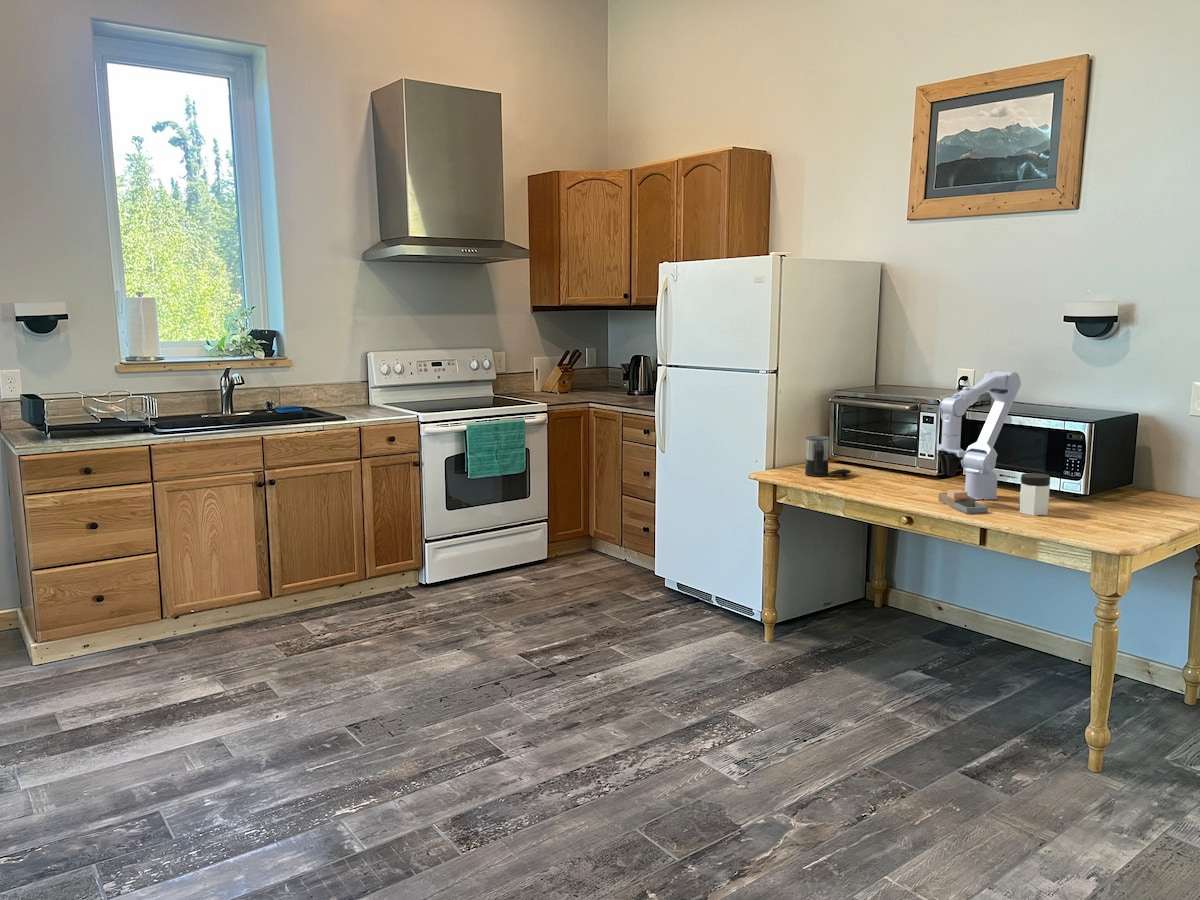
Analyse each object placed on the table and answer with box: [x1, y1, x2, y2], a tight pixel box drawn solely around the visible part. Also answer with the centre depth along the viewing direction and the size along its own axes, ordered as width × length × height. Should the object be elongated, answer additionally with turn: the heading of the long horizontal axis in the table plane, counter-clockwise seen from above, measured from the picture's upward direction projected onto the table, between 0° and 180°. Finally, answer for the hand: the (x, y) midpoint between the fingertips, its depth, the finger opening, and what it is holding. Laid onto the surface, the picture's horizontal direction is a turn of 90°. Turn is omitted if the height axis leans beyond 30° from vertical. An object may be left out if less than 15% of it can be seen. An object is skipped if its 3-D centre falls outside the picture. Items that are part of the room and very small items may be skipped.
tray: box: [953, 501, 989, 515], centre depth 275 cm, size 7×8×2 cm
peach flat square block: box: [946, 488, 968, 499], centre depth 282 cm, size 4×4×2 cm
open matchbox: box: [938, 491, 976, 509], centre depth 284 cm, size 7×10×3 cm, turn 6°
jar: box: [1018, 472, 1051, 517], centre depth 271 cm, size 9×8×12 cm
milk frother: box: [804, 435, 852, 477], centre depth 334 cm, size 14×16×15 cm
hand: (949, 475), depth 285 cm, fingers open, 2 cm apart
